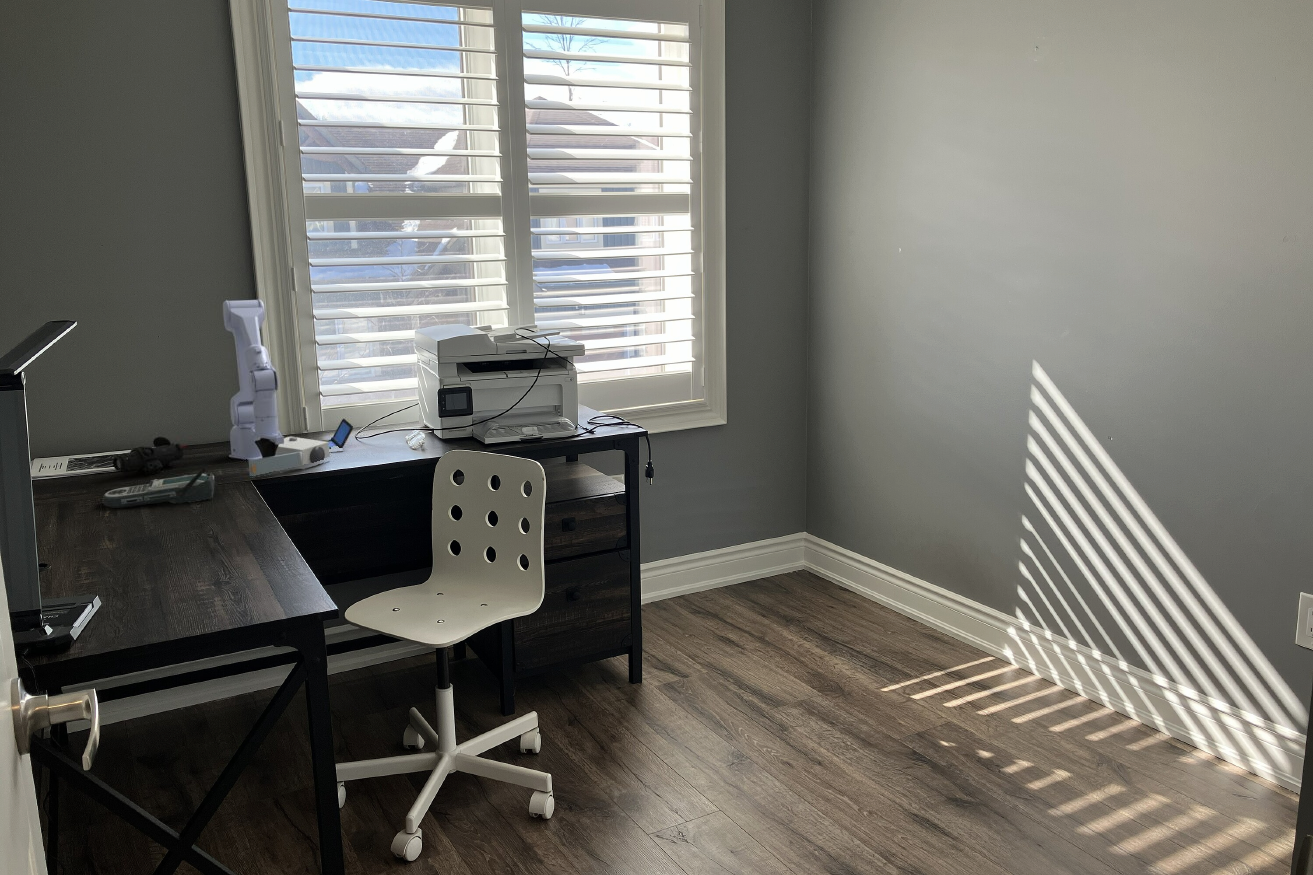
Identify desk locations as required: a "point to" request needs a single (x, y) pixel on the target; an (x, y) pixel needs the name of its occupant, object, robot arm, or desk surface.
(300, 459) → the side door
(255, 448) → the robot arm
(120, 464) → the night vision scope
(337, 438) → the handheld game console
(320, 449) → the camera body
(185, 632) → the desk surface
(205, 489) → the communication device
